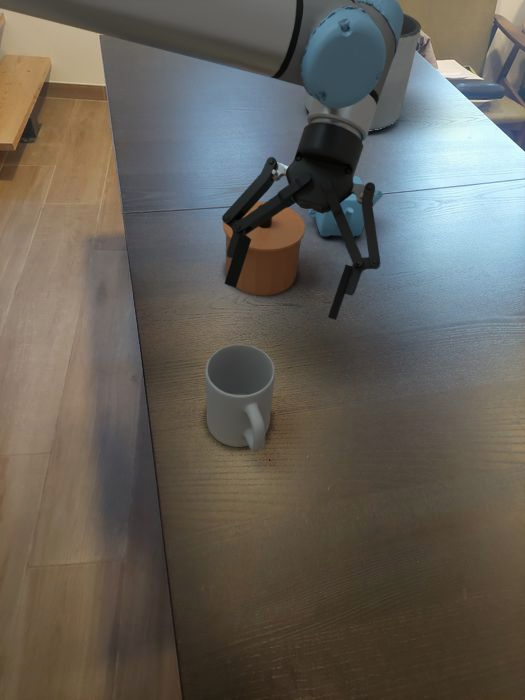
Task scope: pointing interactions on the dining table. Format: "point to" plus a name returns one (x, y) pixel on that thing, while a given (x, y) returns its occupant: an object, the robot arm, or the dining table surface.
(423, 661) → the dining table surface
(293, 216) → the pot lid
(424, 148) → the dining table surface
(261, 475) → the dining table surface
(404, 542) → the dining table surface
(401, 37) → the planter
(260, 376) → the mug
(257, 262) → the pot
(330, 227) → the teapot
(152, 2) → the robot arm
